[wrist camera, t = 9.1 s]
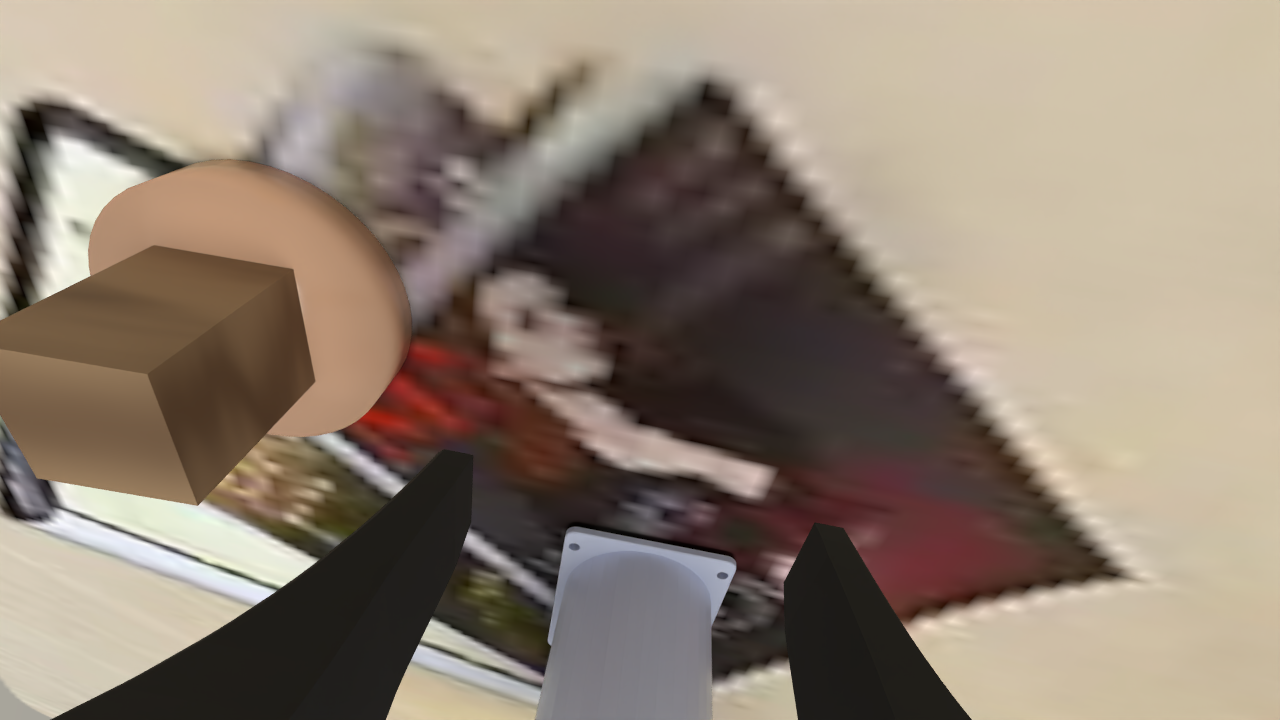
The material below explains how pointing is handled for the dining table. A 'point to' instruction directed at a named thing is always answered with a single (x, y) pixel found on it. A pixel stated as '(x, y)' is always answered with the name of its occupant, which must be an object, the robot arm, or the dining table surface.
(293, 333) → the walnut block
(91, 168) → the dining table surface
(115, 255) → the tan round disc
